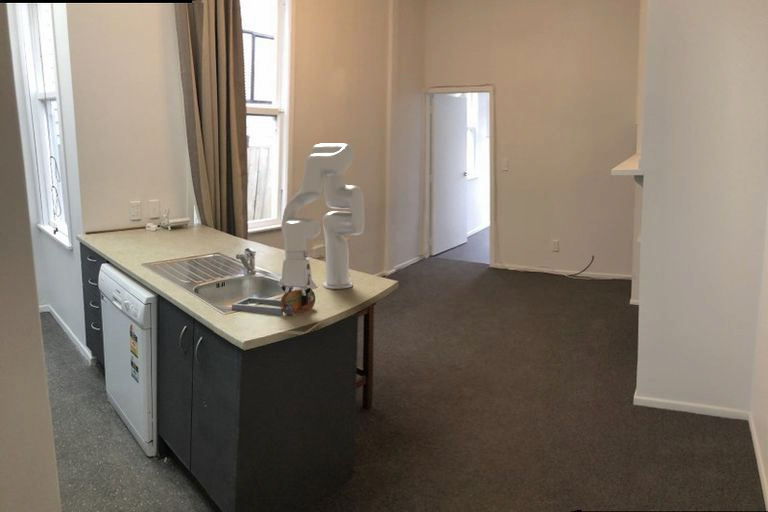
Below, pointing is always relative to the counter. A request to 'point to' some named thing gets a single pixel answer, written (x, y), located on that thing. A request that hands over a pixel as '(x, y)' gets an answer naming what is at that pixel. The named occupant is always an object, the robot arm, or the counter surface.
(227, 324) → the counter surface
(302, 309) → the tin
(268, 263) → the counter surface
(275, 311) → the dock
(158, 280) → the counter surface
